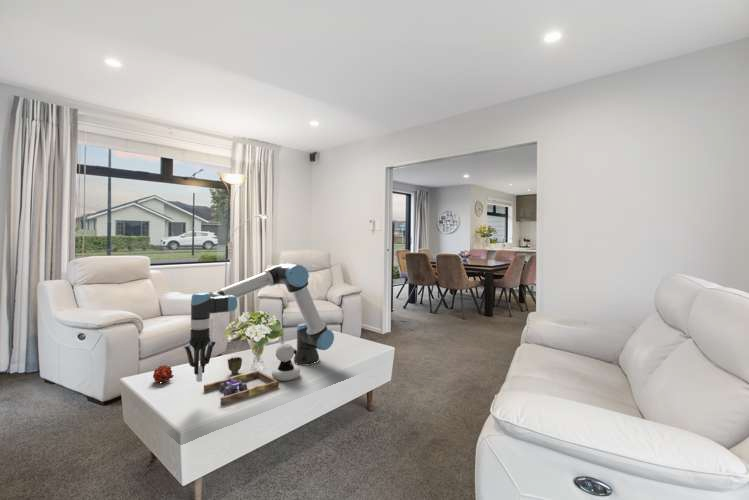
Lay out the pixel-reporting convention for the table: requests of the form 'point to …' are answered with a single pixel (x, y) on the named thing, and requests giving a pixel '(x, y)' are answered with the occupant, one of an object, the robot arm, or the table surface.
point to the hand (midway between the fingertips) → (199, 380)
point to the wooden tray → (246, 393)
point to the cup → (234, 364)
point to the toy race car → (232, 387)
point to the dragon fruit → (162, 374)
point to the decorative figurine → (285, 363)
